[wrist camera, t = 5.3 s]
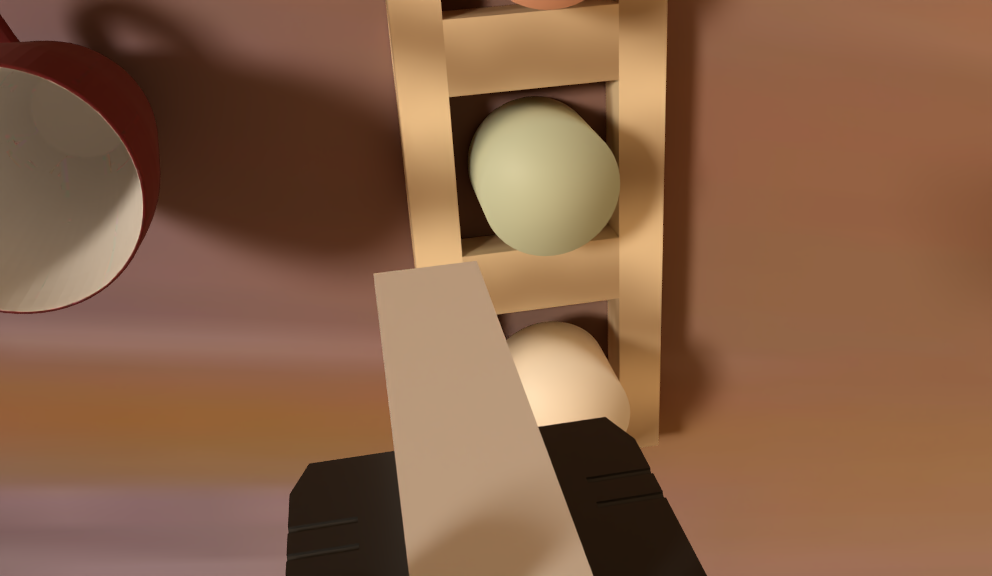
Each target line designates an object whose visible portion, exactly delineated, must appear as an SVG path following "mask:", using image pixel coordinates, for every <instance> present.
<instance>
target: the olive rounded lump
mask: <svg viewBox="0 0 992 576" xmlns="http://www.w3.org/2000/svg"><path fill="white" fill-rule="evenodd" d="M468 174H469V178H470V181H471V184H472V187H473V189H474V191H475V193H476V196H477V198H478V200H479V203H480V205H481V207H482V209H483V212H484V214H485V216H486V218H487V221H488V223H489V225H490V226H491V228H492V230H493V231H494V232H495V233H496V235H497V236H498V237H499V238H500V239H501V240H502V241H504V242H505V243H506V244H507V245H509V246H510V247H512V248H514V249H516V250H518V251H520V252H523V253H526V254H531V255H536V256H554V255H560V254H564V253H567V252H570V251H573V250H575V249H577V248H580V247H581V246H583V245H585V244H586V243H588V242H589V241H590V240H592V239H593V238H594V237H595V236H596V235H597V234H598V233H600V232H601V230H602V229H603V228H604V227H605V226H606V224H607V223H608V221H609V220H610V218H611V216H612V214H613V212H614V210H615V208H616V205H617V202H618V197H619V192H620V174H619V169H618V165H617V162H616V159H615V157H614V155H613V153H612V151H611V150H610V148H609V147H608V146H607V144H606V143H605V142H604V141H603V140H602V139H601V138H600V137H599V136H598V135H597V134H596V133H595V131H594V130H593V129H592V128H591V127H590V126H589V125H588V124H587V123H586V122H585V121H584V120H583V119H582V118H581V117H580V116H579V115H578V114H577V113H576V112H575V111H574V110H573V109H572V108H570V107H569V106H568V105H566V104H564V103H562V102H560V101H557V100H555V99H551V98H547V97H539V96H532V97H523V98H519V99H515V100H512V101H510V102H508V103H505V104H503V105H502V106H500V107H498V108H497V109H495V110H494V111H493V112H492V113H490V114H489V115H488V116H487V117H486V118H485V119H484V120H483V122H482V123H481V124H480V126H479V127H478V129H477V130H476V132H475V134H474V136H473V138H472V141H471V144H470V147H469V152H468Z"/></svg>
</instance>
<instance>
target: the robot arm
mask: <svg viewBox="0 0 992 576" xmlns="http://www.w3.org/2000/svg"><path fill="white" fill-rule="evenodd" d="M374 283H375V291H376V300H377V308H378V317H379V325H380V333H381V342H382V350H383V359H384V367H385V376H386V384H387V393H388V401H389V409H390V418H391V426H392V435H393V443H394V451H391V452H385V453H378V454H371V455H364V456H358V457H351V458H344V459H337V460H331V461H324V462H317V463H311V464H309V465H308V466H307V468H306V470H305V471H304V473H303V474H302V476H301V477H300V479H299V481H298V482H297V484H296V485H295V487H294V488H293V490H292V492H291V493H290V498H289V518H288V531H289V534H288V537H287V562H286V576H707V575H706V573H705V571H704V569H703V567H702V565H701V564H700V562H699V560H698V558H697V556H696V554H695V552H694V550H693V548H692V546H691V545H690V543H689V541H688V539H687V537H686V535H685V533H684V531H683V529H682V527H681V525H680V524H679V522H678V520H677V518H676V516H675V514H674V512H673V510H672V508H671V506H670V505H669V503H668V501H667V499H666V498H664V497H663V491H662V489H661V487H660V485H659V484H658V482H657V480H656V478H655V476H654V474H653V473H651V471H650V466H649V465H648V463H647V461H646V459H645V457H644V455H643V453H642V451H641V449H640V447H639V446H638V444H637V442H636V440H635V438H633V437H632V436H630V435H629V434H628V433H626V432H625V431H624V430H622V429H621V428H620V427H618V426H617V425H616V424H614V423H613V422H612V421H610V420H609V419H608V418H606V417H600V418H594V419H587V420H580V421H573V422H567V423H560V424H553V425H546V426H540V427H538V425H537V422H536V420H535V417H534V414H533V412H532V409H531V406H530V404H529V401H528V398H527V395H526V393H525V390H524V387H523V385H522V382H521V379H520V377H519V374H518V371H517V368H516V366H515V363H514V360H513V358H512V355H511V352H510V349H509V347H508V344H507V341H506V339H505V336H504V333H503V331H502V328H501V325H500V322H499V320H498V317H497V314H496V312H495V309H494V306H493V304H492V301H491V298H490V295H489V293H488V290H487V287H486V285H485V282H484V279H483V276H482V274H481V271H480V268H479V266H478V263H477V261H471V262H463V263H455V264H447V265H439V266H431V267H423V268H415V269H407V270H399V271H391V272H383V273H375V274H374Z"/></svg>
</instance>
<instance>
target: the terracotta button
mask: <svg viewBox="0 0 992 576" xmlns="http://www.w3.org/2000/svg"><path fill="white" fill-rule="evenodd" d="M511 1H513V2H515V3H517V4H519V5H522V6H525V7H529V8H532V9H540V10H555V9H561V8H566V7H569V6H573V5H575V4H577V3H580V2H582V1H584V0H511Z"/></svg>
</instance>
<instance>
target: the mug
mask: <svg viewBox="0 0 992 576" xmlns="http://www.w3.org/2000/svg"><path fill="white" fill-rule="evenodd" d="M159 189H160V159H159V145H158V132H157V126H156V121H155V118H154V114H153V111H152V109H151V106H150V104H149V102H148V100H147V98H146V96H145V94H144V93H143V91H142V90H141V88H140V87H139V86H138V84H137V83H136V82H135V80H134V79H133V78H132V77H131V76H130V75H129V74H128V73H127V72H126V71H125V70H124V69H123V68H121V67H120V66H119V65H118V64H116V63H115V62H113V61H112V60H110V59H109V58H107V57H106V56H104V55H102V54H100V53H98V52H96V51H94V50H91V49H89V48H86V47H83V46H80V45H76V44H72V43H66V42H58V41H30V42H20V41H19V40H18V39H17V37H16V36H15V35H14V33H13V32H12V30H11V29H10V28H9V26H8V25H7V23H6V22H5V20H4V19H3V18H2V16H1V15H0V312H3V313H14V314H33V313H44V312H50V311H56V310H60V309H63V308H67V307H70V306H73V305H76V304H78V303H81V302H83V301H85V300H87V299H89V298H91V297H93V296H94V295H96V294H98V293H99V292H101V291H102V290H104V289H105V288H106V287H108V286H109V285H110V284H111V283H112V282H113V281H114V280H116V279H117V278H118V277H119V276H120V274H121V273H122V272H123V271H124V270H125V269H126V268H127V266H128V265H129V263H130V262H131V260H132V259H133V257H134V255H135V254H136V252H137V250H138V248H139V246H140V244H141V243H142V241H143V239H144V237H145V235H146V233H147V231H148V228H149V226H150V224H151V221H152V219H153V216H154V212H155V209H156V205H157V201H158V196H159Z"/></svg>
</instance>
